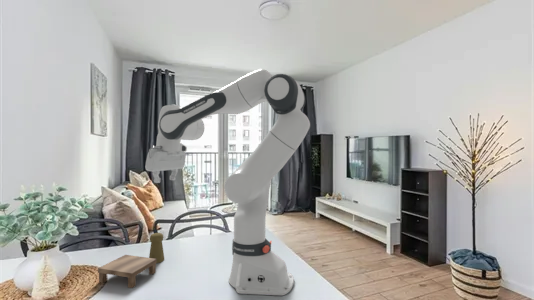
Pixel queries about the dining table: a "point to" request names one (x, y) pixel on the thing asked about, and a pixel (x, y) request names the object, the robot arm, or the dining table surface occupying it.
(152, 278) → the dining table surface
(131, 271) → the walnut stand
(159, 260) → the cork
